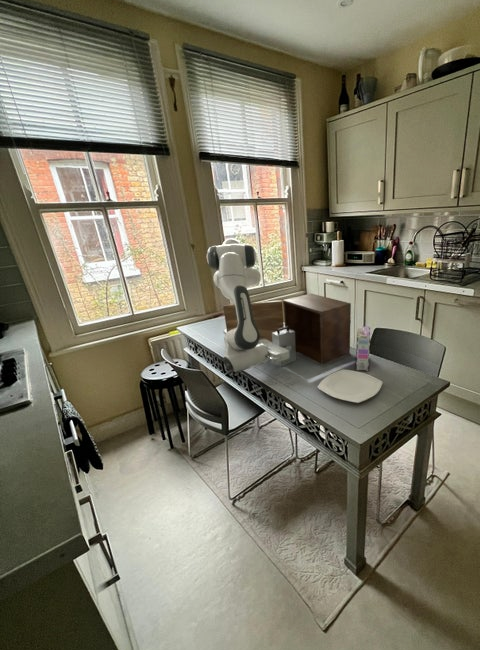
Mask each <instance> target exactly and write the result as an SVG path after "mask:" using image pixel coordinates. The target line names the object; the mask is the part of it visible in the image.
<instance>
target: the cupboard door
mask: <svg viewBox="0 0 480 650" xmlns="http://www.w3.org/2000/svg"><path fill="white" fill-rule="evenodd" d="M251 307H252V313H253V318H254V323H255V325H256V327H257V329H258V331H259V336H260V338H259V340H261V339H267V340H269V341H271V342H272V333H274V332H277V329H280V328H283V327H284V324H285V322H284V308H283V300H271V301H270V300H269V301H259V302H251ZM222 309H223V315H224V320H225V329H227V332H228V331H229V330H232V329H234V328H237V326H238V319H237V313H236V307H235V304H234V305H231V304H224V305H222Z"/></svg>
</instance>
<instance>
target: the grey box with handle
mask: <svg viewBox="0 0 480 650" xmlns="http://www.w3.org/2000/svg"><path fill="white" fill-rule="evenodd" d="M272 342H273V343H274V344H276V345H278V346H281V347H283V348H286V346H288V345H289V346H291V350H289V352H290V357H289V359H286V360H283V361H278V362H275V361H273V363H274V364H275V365H277V366H278V367H284V366H286V365H289V364H292V363H295V362H296V361H297V352H296V345H295V331H293V330H291V329H289V326H287V327H283V328H280V329H277V332H274V333H272Z"/></svg>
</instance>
